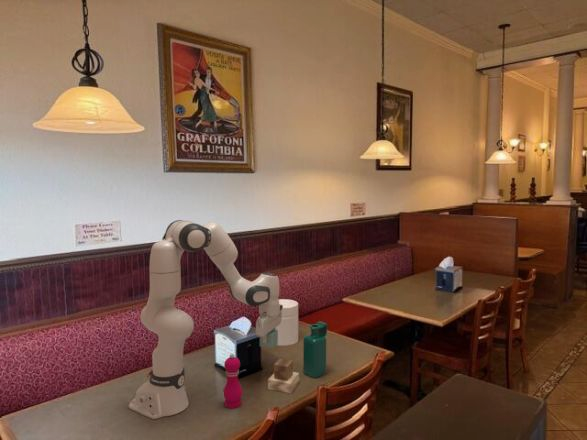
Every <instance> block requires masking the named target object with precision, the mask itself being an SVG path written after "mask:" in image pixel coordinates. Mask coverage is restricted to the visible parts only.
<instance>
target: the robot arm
mask: <svg viewBox="0 0 587 440" xmlns="http://www.w3.org/2000/svg"><path fill="white" fill-rule="evenodd" d="M201 250H204V251H205V253H206V255H207V256H208V257H209V259H210V260H211V261H212V262H213V264H214V265H215V266H216V267H217V269H218V270H219V271H220V273H221V275H222V276H223V278H224V280H225V281H226V283H227V285H228V289H229V293H230V294H229V295H230V296H231V298H233V299H234V300H236V301H237V302H241V303H243V304H245V305H247V306H249V307H257V306H258V314H259V315H258V316H259V317H258V318H256V322H255V333H254V334H255V336H256V337H258V338H260V337H262V339H263V343H265V344H266V343H267V342H268V339H267V337H266V336H267V334H268V333H269V332H270V331H272V330H276V327H277V326H278V325H279V324H280V323H281V320H282V309H283V305H281V304H279V295H280V279H279V277H278V275H276V274H275V273H271V272H262V273H261V274H260V275H259V276H257V278H256V279H254V280H253V281H251V280H248V279H246V278H244V277H243V276H241V274H240V273H239V271H238V269H237V268H236V266H235V264H234V263H235V262H236V260H237V259H238V254H239V251H238V249H237V246H236V245H235V243H234V241H233V240H232V239H231V237H230V235H228V233H227V232H226V231H225V230H224V228H223V227H222V226H220V224H219V223H217V222H213V221H210V222H207V223H205V224H203V225H201V224H199V223H195V222H192V221H190V220H181V219H177V220H174V221H172V222H171V223H170V224H169V225H168V226H167V227H166V230H165V233H164V234H163V236H162V239H161V240H158V241H156V242H155V243H154V244H152V246H151V249H150V256H149V293H148V300H147V303H146V305H145V306H144V307H143V308H142V310H141V313H140V315H139V317H140V318H139V319H140V321H141V322H140V323H141V324H142V325H143V326H144V327H145V328H146V329H147V330H148V331H150V332H152V333H155V334H157V336H158V342H157V346H156V347H155V348H154V350H152V355H151V357H152V359H151V360H152V369H151V371H150V372H148V373H146V375H147V376H146V377H147V378H148V377H149V379H147V381H145V382H144V383H143V384H141V385H140V386H139V388H138V389H136V392H135V397H134V398H133V399H132V400H131V401H130V402H129V404H128V408H129V410H132V411H134V412H136V413H138V414H141V415H143V416H145V417H147V418H149V419H152V420H157V419H161V418H164V417H168V416H169V417H171V416H173V415H177V414H180V413H181V412H183V411H185V410H186V409H187V408H188V406H189V403H190V401H189V399H188V395H187V391H186V386H185V378H186V377H185V376H186V375H185V367H184V346H185V342H186V340H187V339H188V338H189V337H190V336H191V335H192V333H193V330H194V328H195V327H194V326H195V324H194V323H195V322H194V319H193V318H192V317H191V316H190V315H189V314H188V313H187V312H186V311H184V310H181V309H179V308H176V307H175V299H176V296H177V295H178V294H179V293H180V292H181V290H182V279H181V278H182V277H181V275H182V273H181V272H182V271H181V269H182V268H181V258H182V256H183V253H184V251H186V252H187V253H188V252H189V253H195V252H199V251H201Z"/></svg>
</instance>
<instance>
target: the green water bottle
mask: <svg viewBox="0 0 587 440" xmlns="http://www.w3.org/2000/svg"><path fill="white" fill-rule="evenodd" d="M308 328H309V329H310V333H309V334H306V335H305V336H304V337H303V341H302V343H303V346H302V351H303V353H302V354H303V356H302V357H303V361H302V362H303V363H302V365H303V369H302V370H303V373H304V374H305V375H307V376H309V377H311V378H314V379H315V378H316V379H317V378H319V377H321V376H324V375H325V374H327V337H326V336H327V334H328V323H326V322H323V321H317V323H314V324H313V323H312V324H310V325H308Z"/></svg>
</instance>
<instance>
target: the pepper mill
mask: <svg viewBox="0 0 587 440" xmlns="http://www.w3.org/2000/svg"><path fill="white" fill-rule="evenodd" d="M223 366H224V368H225V375H226V377H227V378H226V379H227V380H226V384H225V386H224V388H223V392H222V395H223V398H224V405H225V407H226V408H229V409H235V408H238V407H240V406H241V404H242V398H241V397H242V395H243V388H242V386H241V383H240V382H239V374H240V367H241V362H240V359H239V358H238V357H237V356H235V354H234V353H230V355H229V357H228V358H227V359H225V361H224V365H223Z"/></svg>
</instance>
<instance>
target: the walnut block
mask: <svg viewBox="0 0 587 440" xmlns="http://www.w3.org/2000/svg"><path fill="white" fill-rule="evenodd" d="M273 368H274V369H273V374H274V378H275V379H280V380H286V381H288V380H289V379H290V377H291V376H292V375H293V372H294V361H293V360H291V359H286V358H285V359H283V358H279V359H277V361H276V362H275V363H274V364H273Z"/></svg>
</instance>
